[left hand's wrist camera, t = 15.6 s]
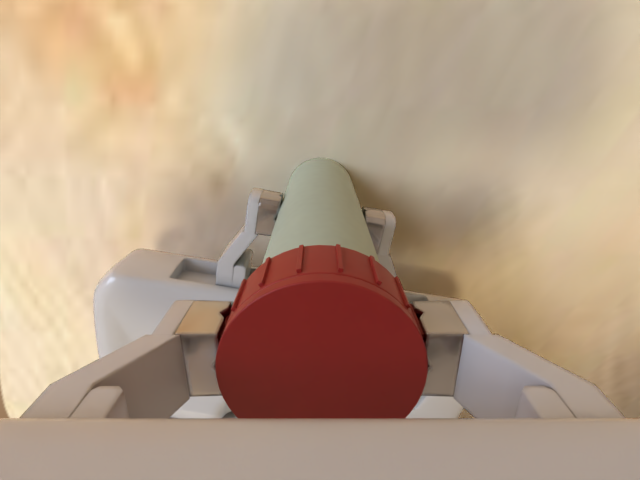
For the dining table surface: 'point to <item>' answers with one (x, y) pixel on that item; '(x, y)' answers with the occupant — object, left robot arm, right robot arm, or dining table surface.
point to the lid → (321, 340)
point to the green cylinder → (320, 211)
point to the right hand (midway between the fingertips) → (323, 202)
